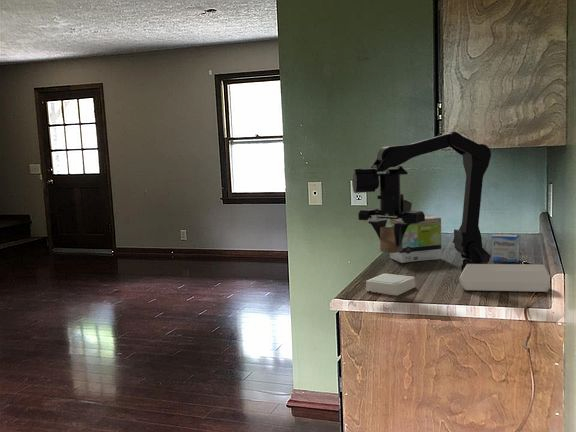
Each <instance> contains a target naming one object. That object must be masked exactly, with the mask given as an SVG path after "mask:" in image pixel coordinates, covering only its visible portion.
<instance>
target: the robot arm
mask: <svg viewBox="0 0 576 432" xmlns="http://www.w3.org/2000/svg"><path fill="white" fill-rule="evenodd" d="M448 148H451V149H452V150H453V151H455V153H457V154H458V155H461V156H462V164H463V168H464V172H465V187H464V196H463V206H462V207H463V208H462V217H461V218H462V219H461V225H460V226H459V229H456V228H455V229H453V240H452V243H453V244H454V248H455V250H456V251H457V252H458V253H459V254H460V256H461V257H460V258H462V264H461V265H460V268H461V270H460V271H461V274H462V272H463V270H464V268H465V266H466V265H467V264H489V262H490V261H491V258H492V254H490V252H488V251H487V250H486V249H485V248H484V247H483V240H482V239H483V237H482V234H481V231H480V226H479V224H480V223H479V222H480V212H481V201H482V192H483V183H484V182H483V181H484V175H485V174H486V172H487V170H488V168H489V165H490V161H491V158H492V151H491V150H492V149H491V148H489V146H488V145H486V144H483V143H477V142H475V141H474V140H472V139H470V138H467V137H466V136H463V135H462V134H460V133H459V132H458V131H457V132H456V131H448V132H446V133H443V134H440V135H437V136H434V137H429V138H425V139H423V140H422V139H421V140H418V141H415V142H412V143H409V144H408V143H407V144H397V145H396V144H395V145H386V146H383V147H381V148H379V150H378V152H377V155H376V159H375V161H374V162H373V164H372V165H371V167H370V168H354V169H353V175H352V180H351V181H352V183H351V184H352V191H353V193H354V194H359V193H361V194H362V193H363V194H364V193H375V192H376V190H377V189H378V188H379V195H377V197H376V198H377V200H379V206H380V207H379V208H373V207H372V208H369V207H368V208H364V209H361V210H359V212H358V214H357V215H358V216H357V219H358V221H359V220H360V221H368V220H369V221H368V224H370V225H371V226H372V228H373V229H374V231H375V233H376V235H377V236H378V239H379V240H380V227H383V226H387V225H386V224H387V222H388V220H390V219H399V223H395V224H394V225H395V234H396V243H397V247H399V246H401V243H402V240H403V237H404V234H405V231H406V229H407V227H408V226H409V225H410V224H415V223H419V222H423V221H425V215H426V214H425V213H424V211H422V210H412V205H413V202H411V201H408V200H406V199H404V197H405V196H404V194H403V193H401V175H403V176H404V175H408V171H406V169H404V168H403V166H402V164H404V163H406V162H408V161H409V160H411V159H413V158H415V157H419V156H421V155H425V154H431V153H433V152H436V151H439V150H440V151H441V150H443V149H448ZM396 167H397V168H396ZM380 172H381V173H380ZM461 274H460V275H461Z"/></svg>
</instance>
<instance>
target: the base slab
mask: <svg viewBox="0 0 576 432" xmlns="http://www.w3.org/2000/svg"><path fill="white" fill-rule="evenodd" d="M415 280H416V277H415V276H409V275H401V274H391V273H382V274H379V275H377V276H375V277H372V278H370V279H367V280H366V281H365V286H366V287H365V289H366V292H369V291H371V292H370V293H376V292H377V294H378V293H379V294H384V295H390V296H391V295H392V296H397V297H398V296H400V295H401V294H403V293H406V292H408V291H410V290H412V289H414V288H416V281H415Z"/></svg>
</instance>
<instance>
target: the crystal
mask: <svg viewBox="0 0 576 432" xmlns="http://www.w3.org/2000/svg"><path fill="white" fill-rule="evenodd" d="M550 277H551V276H550V274H549V271H548V270H547V269H546V267H545V264H537V263H535V264H530V263H529V264H525V263H524V264H517V263H516V264H515V263H511V264H509V263H506V264H505V263H504V264H503V263H498V264H497V263H496V264H495V263H488V264H467V265H466V266H465V268H464V270H463V272H462V274H460V276H459V278H458V280H459V283H460V285H461V286H462V287H463V289H464V290H465V291H473V292H474V291H475V292H476V291H478V292H480V291H481V292H486V291H487V292H522V293H523V292H525V293H526V292H528V293H538V292H539V293H547V292H548V291H549V290H550V289H549V287H550ZM550 288H551V287H550ZM548 289H549V290H548Z"/></svg>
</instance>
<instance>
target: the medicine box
mask: <svg viewBox="0 0 576 432" xmlns="http://www.w3.org/2000/svg"><path fill="white" fill-rule="evenodd" d="M519 238H520V236H519V234H501V233H500V234H499V233H498V234H494V233H493V235H492V236H491V250H492V251H491V252H492V253H491V258H492V259H491V261H492V262H493V263H512V262H515V263H516V264H517V263H518V262H519V260H520V239H519ZM515 263H514V264H515Z"/></svg>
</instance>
